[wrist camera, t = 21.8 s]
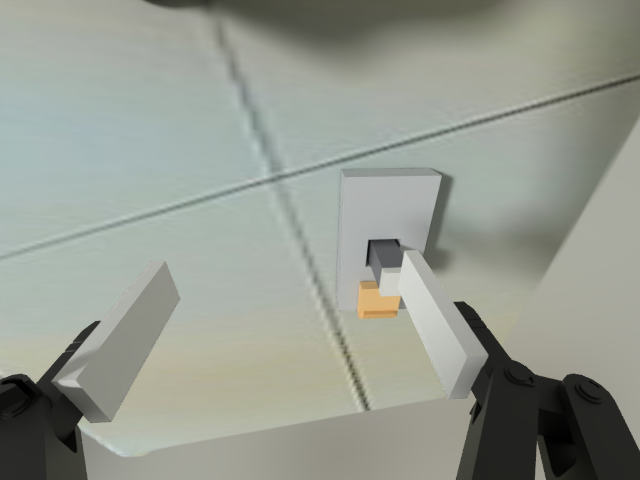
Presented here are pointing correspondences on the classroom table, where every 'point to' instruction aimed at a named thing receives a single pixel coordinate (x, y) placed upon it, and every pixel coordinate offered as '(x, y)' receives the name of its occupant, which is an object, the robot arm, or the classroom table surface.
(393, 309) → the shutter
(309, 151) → the classroom table surface
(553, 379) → the robot arm
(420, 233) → the socket board
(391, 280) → the plug
